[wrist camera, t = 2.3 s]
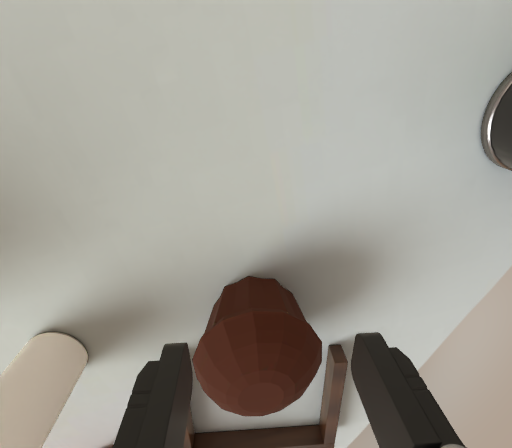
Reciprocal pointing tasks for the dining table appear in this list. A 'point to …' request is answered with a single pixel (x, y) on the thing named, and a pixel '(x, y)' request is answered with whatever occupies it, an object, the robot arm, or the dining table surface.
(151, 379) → the robot arm
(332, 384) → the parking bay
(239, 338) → the muffin
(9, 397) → the can
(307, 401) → the dining table surface
